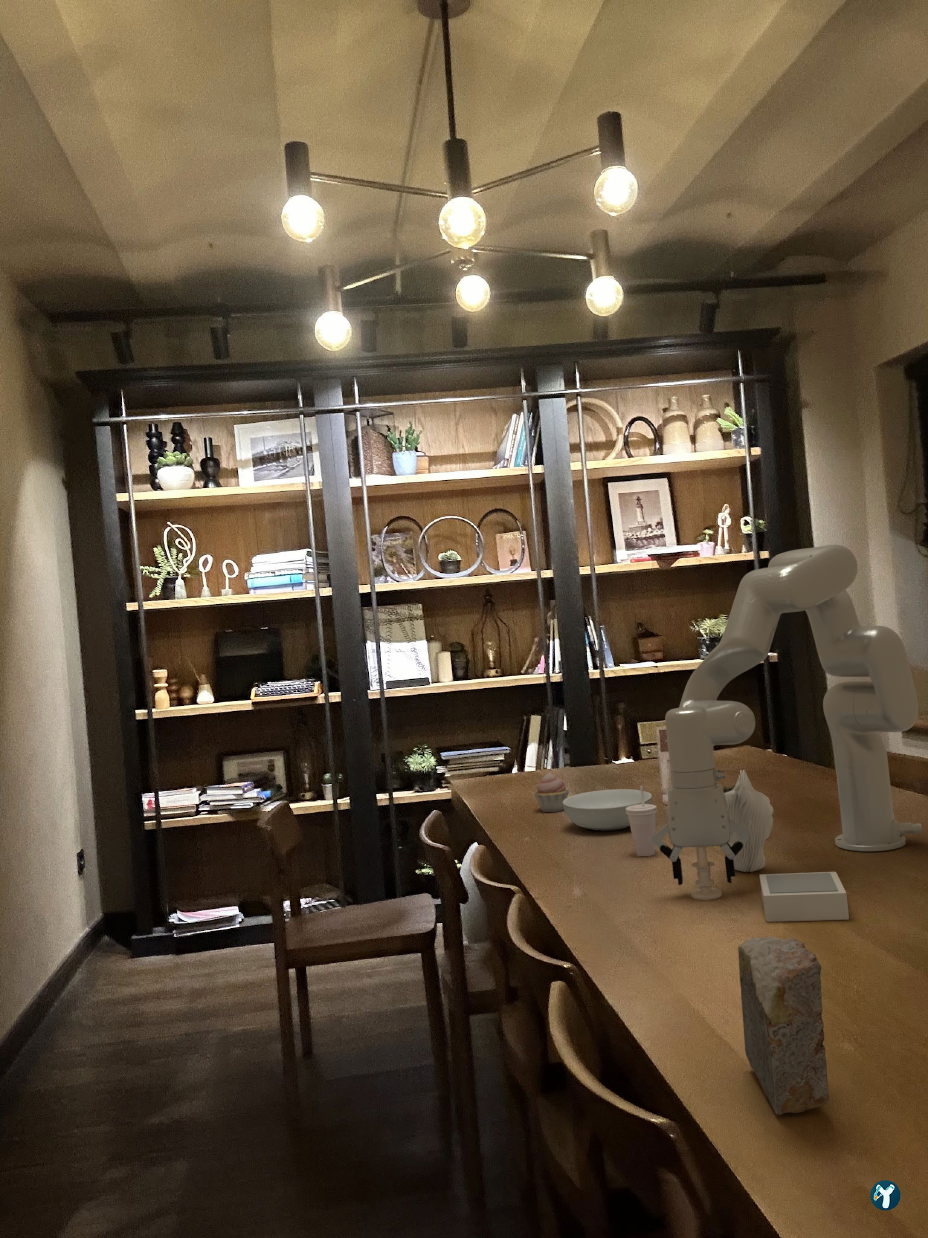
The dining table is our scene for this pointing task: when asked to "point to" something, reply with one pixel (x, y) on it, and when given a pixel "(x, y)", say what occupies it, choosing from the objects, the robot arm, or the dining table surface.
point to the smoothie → (642, 826)
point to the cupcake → (551, 793)
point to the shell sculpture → (749, 823)
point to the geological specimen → (784, 1022)
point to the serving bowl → (603, 808)
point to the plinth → (803, 897)
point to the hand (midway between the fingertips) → (704, 881)
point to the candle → (704, 878)
